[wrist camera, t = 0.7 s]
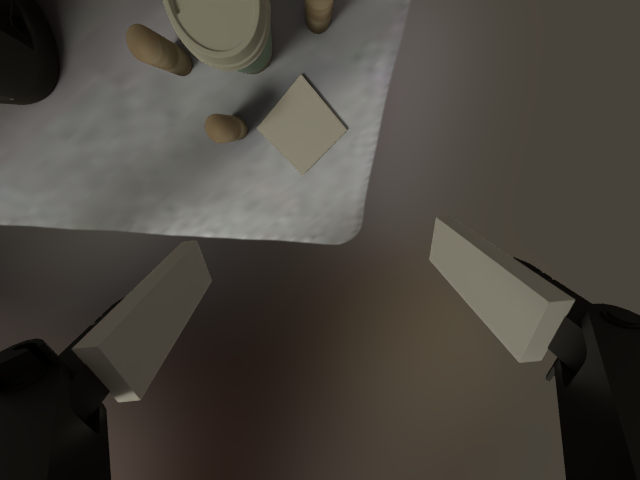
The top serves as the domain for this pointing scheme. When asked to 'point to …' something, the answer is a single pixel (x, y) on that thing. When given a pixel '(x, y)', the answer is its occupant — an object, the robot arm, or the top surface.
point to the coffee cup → (225, 32)
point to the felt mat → (301, 126)
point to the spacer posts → (178, 61)
